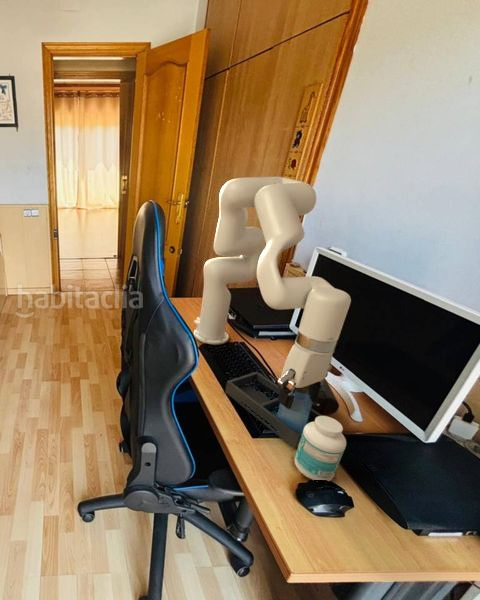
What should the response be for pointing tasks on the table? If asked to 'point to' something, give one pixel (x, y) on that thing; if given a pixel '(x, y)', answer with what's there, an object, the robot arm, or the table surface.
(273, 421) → the rack
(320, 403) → the dark brown rock
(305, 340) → the robot arm
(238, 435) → the table surface
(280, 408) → the perfume bottle
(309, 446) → the pill bottle
